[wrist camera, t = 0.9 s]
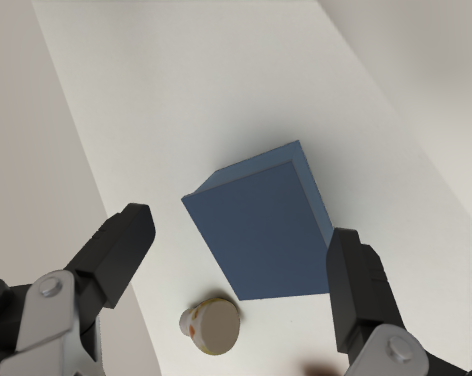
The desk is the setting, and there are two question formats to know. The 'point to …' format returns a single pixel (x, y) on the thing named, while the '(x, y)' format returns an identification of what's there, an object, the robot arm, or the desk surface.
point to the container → (265, 225)
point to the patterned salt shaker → (212, 326)
